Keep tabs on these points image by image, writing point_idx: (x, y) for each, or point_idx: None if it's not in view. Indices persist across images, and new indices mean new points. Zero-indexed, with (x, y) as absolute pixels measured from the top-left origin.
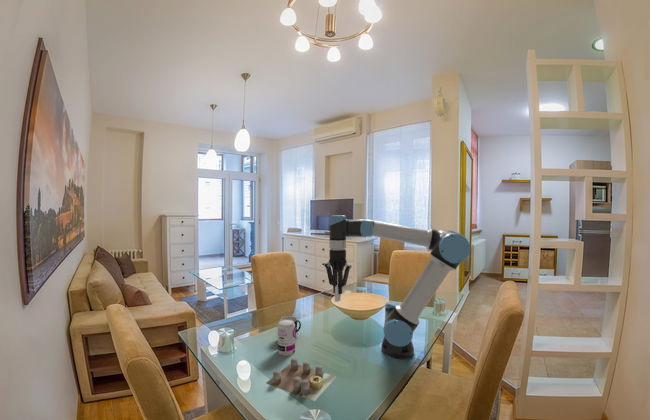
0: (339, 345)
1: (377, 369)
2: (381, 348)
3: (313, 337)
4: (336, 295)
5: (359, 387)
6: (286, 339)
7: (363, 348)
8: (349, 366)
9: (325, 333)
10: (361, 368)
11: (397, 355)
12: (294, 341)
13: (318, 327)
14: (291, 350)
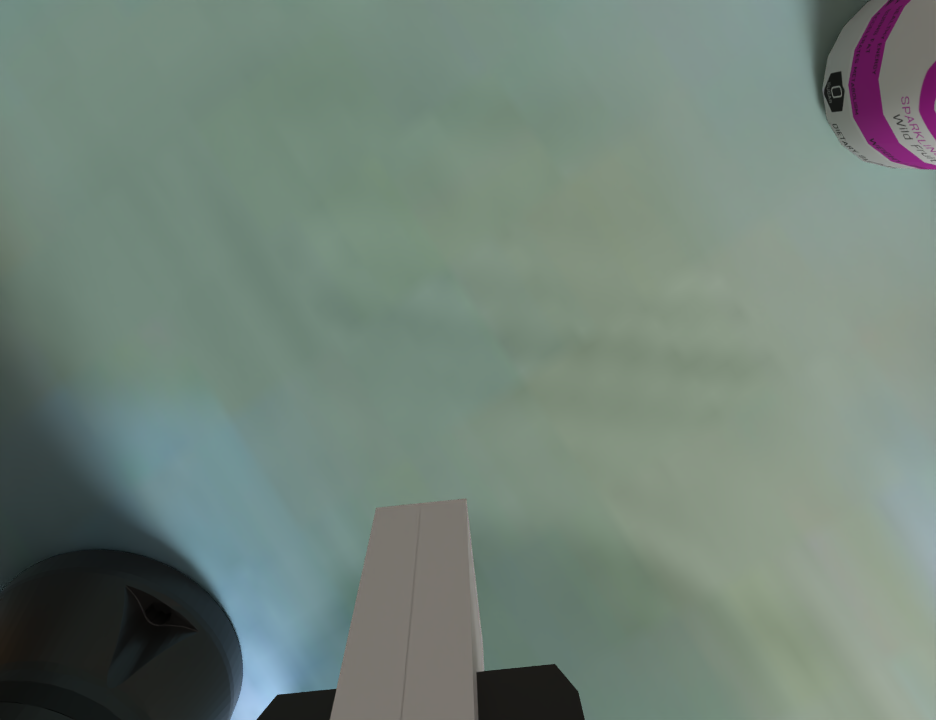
0: (555, 486)
1: (86, 331)
2: (221, 617)
3: (840, 479)
4: (407, 603)
5: (47, 8)
6: None
7: (356, 553)
8: (291, 238)
9: (781, 598)
10: (195, 269)
11: (35, 571)
12: (893, 98)
13: (901, 657)
14: (854, 49)
